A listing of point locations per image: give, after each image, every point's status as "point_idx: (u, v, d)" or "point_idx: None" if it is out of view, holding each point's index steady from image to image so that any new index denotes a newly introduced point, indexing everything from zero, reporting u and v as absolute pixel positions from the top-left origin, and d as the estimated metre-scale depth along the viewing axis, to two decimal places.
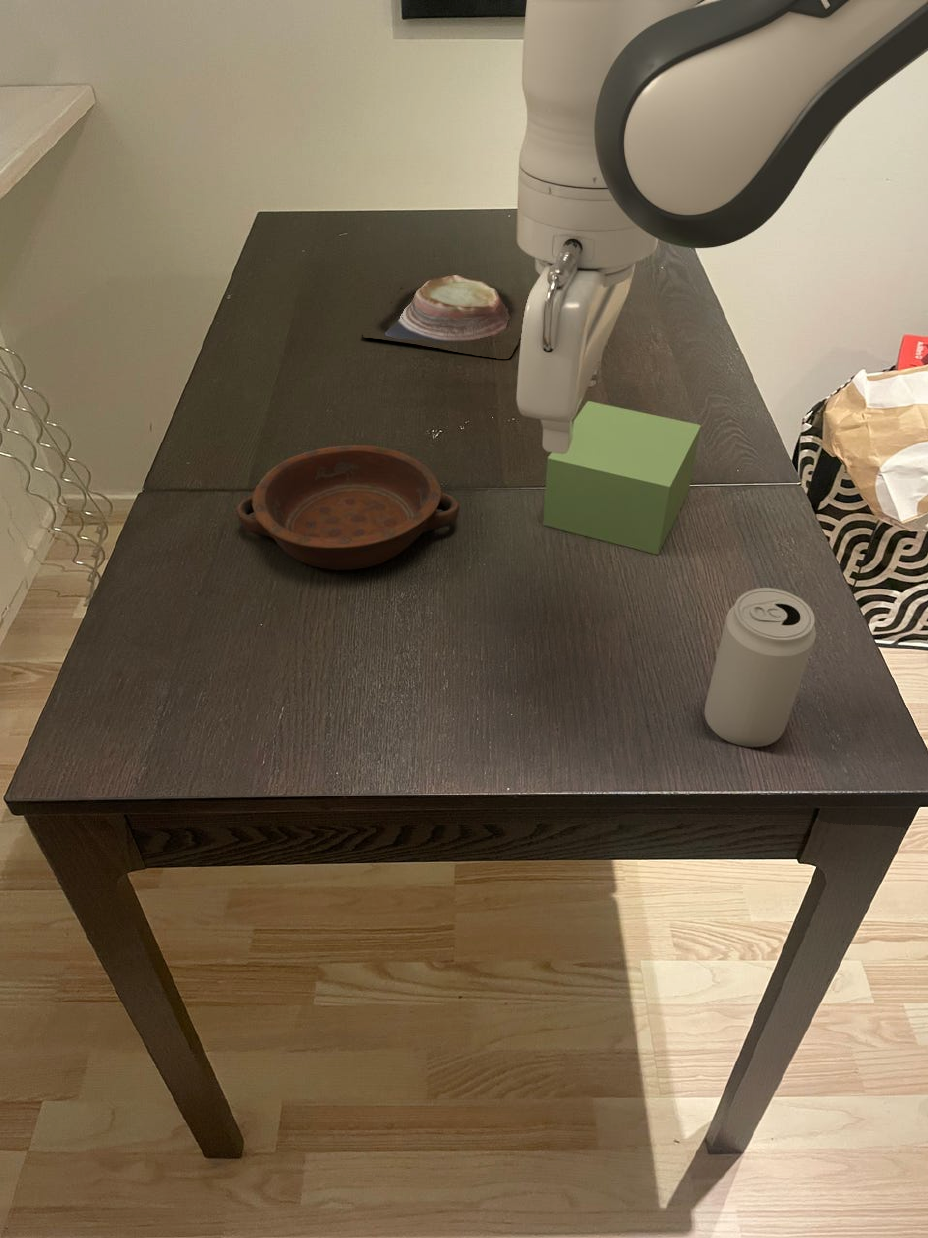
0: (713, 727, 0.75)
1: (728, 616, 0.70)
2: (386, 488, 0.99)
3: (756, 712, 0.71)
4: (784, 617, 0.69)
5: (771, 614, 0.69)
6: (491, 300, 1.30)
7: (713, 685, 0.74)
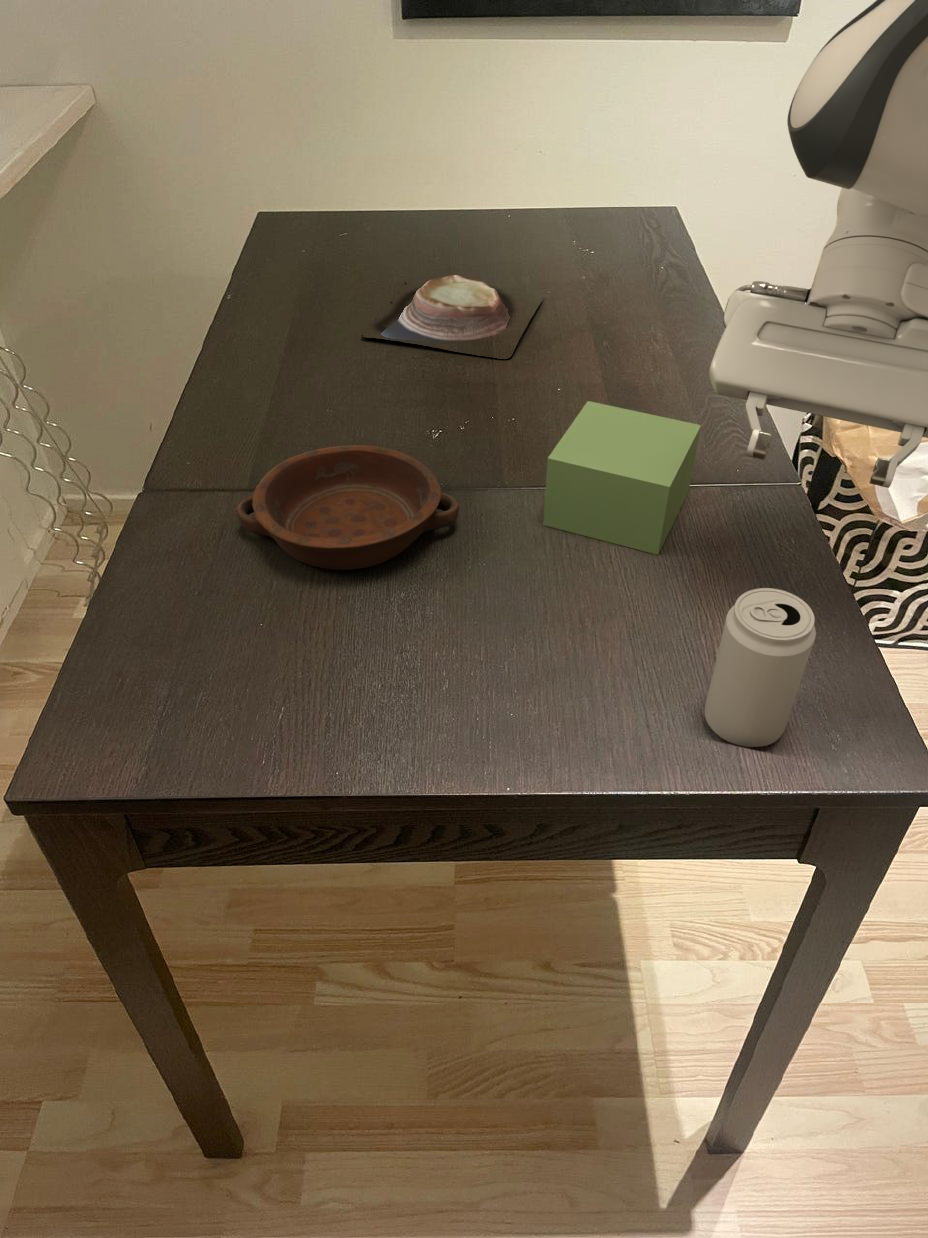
0: (713, 727, 0.75)
1: (728, 616, 0.70)
2: (386, 488, 0.99)
3: (756, 712, 0.71)
4: (784, 617, 0.69)
5: (771, 614, 0.69)
6: (491, 300, 1.30)
7: (713, 685, 0.74)
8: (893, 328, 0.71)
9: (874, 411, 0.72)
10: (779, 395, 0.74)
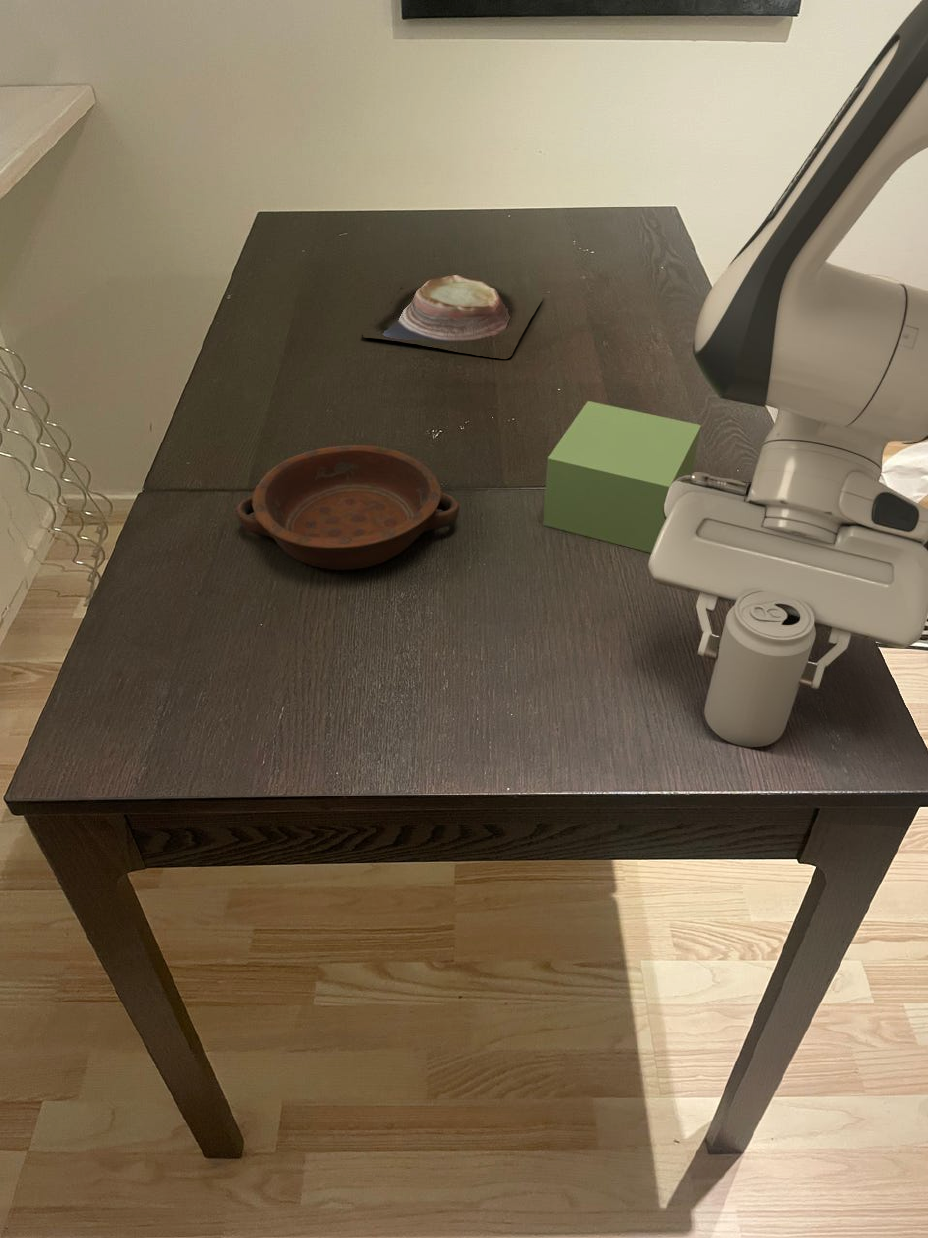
0: (713, 727, 0.75)
1: (728, 616, 0.70)
2: (386, 488, 0.99)
3: (756, 712, 0.71)
4: (784, 617, 0.69)
5: (771, 614, 0.69)
6: (491, 300, 1.30)
7: (712, 685, 0.74)
8: (833, 533, 0.70)
9: None
10: (718, 595, 0.72)
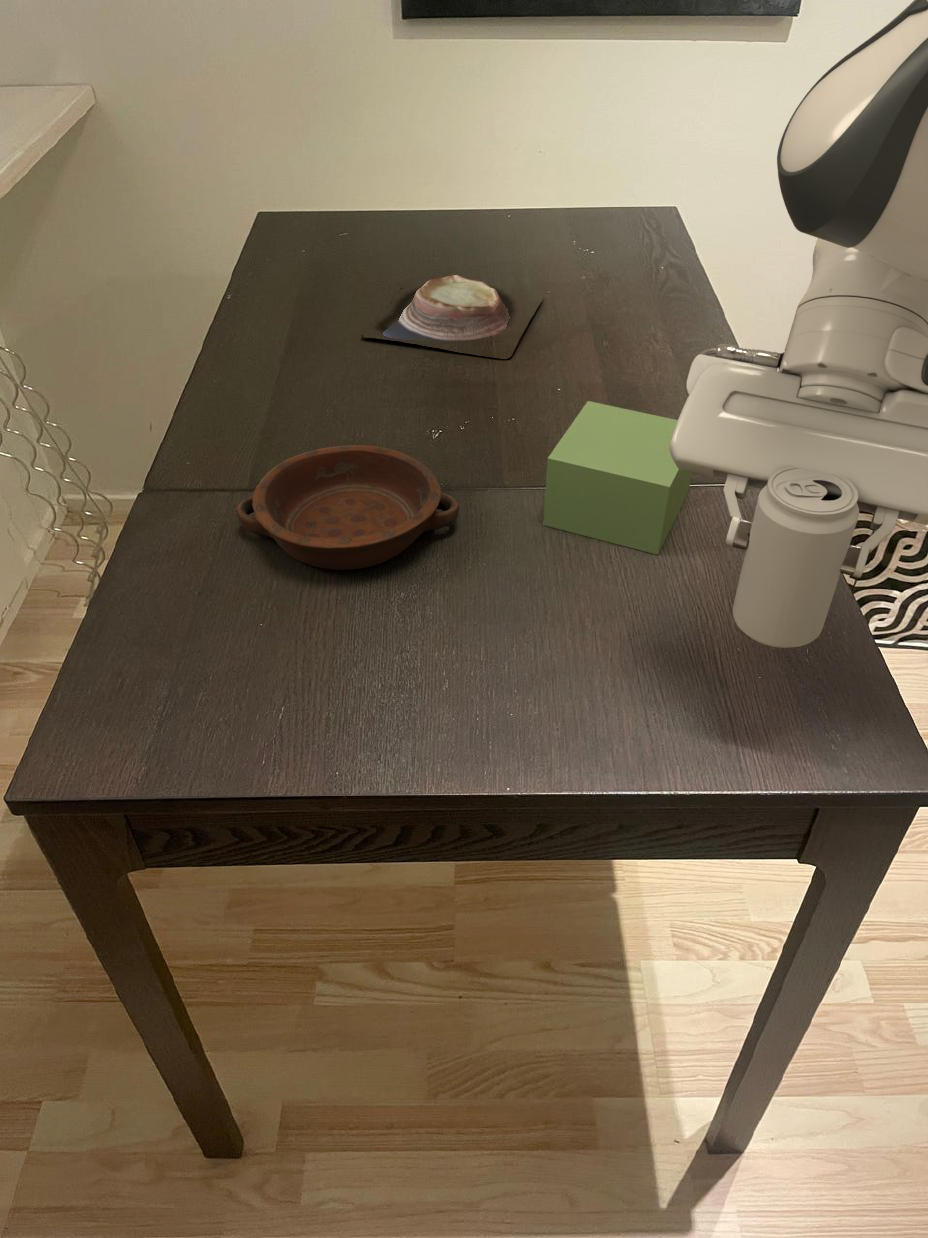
0: (743, 627, 0.68)
1: (760, 495, 0.63)
2: (386, 488, 0.99)
3: (792, 604, 0.64)
4: (824, 492, 0.61)
5: (809, 490, 0.61)
6: (491, 300, 1.30)
7: (742, 578, 0.66)
8: (877, 400, 0.62)
9: None
10: (748, 475, 0.65)
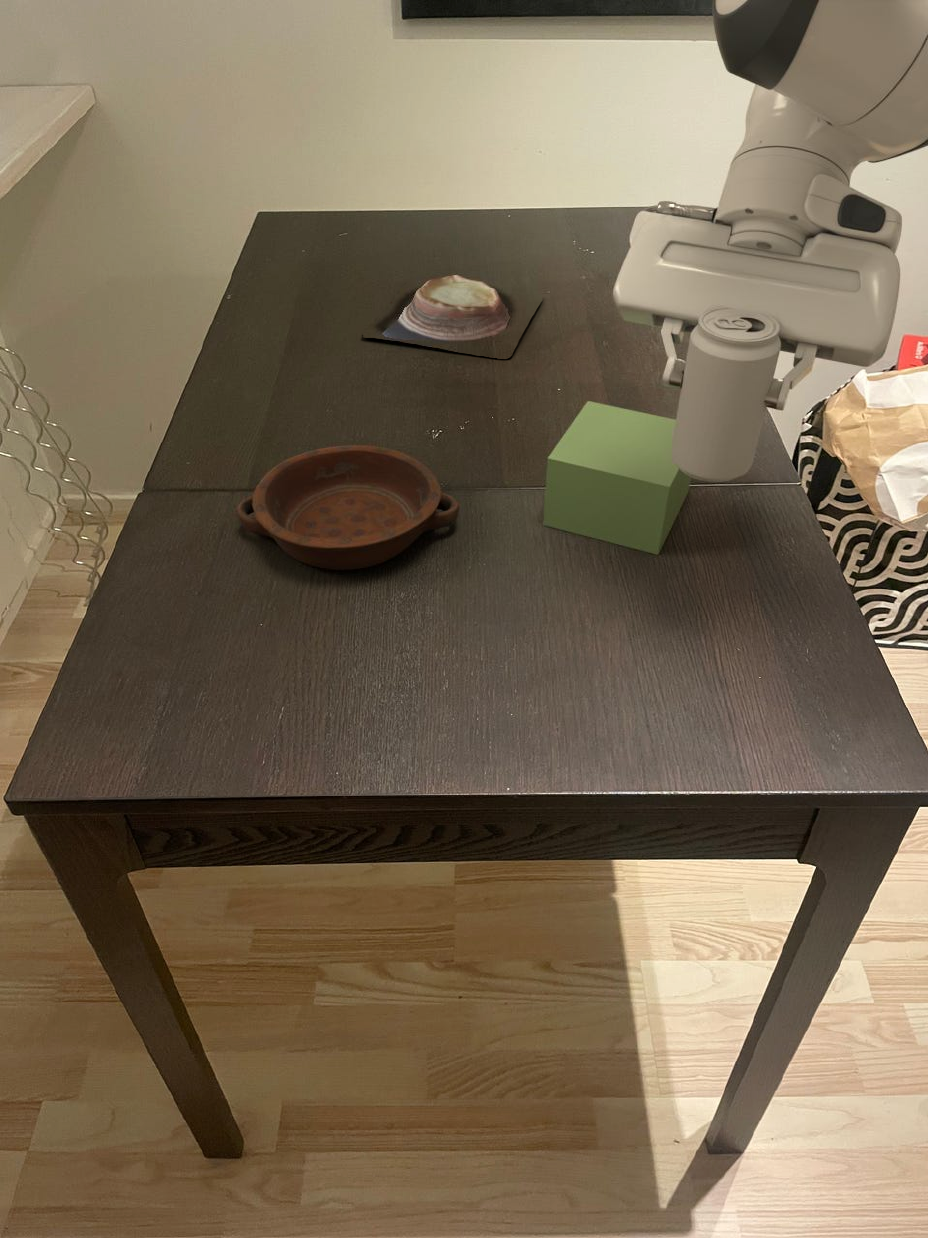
0: (679, 463, 0.74)
1: (692, 331, 0.69)
2: (386, 488, 0.99)
3: (721, 434, 0.70)
4: (749, 326, 0.67)
5: (736, 324, 0.67)
6: (491, 300, 1.30)
7: (678, 415, 0.72)
8: (799, 244, 0.68)
9: (779, 331, 0.68)
10: (683, 317, 0.71)
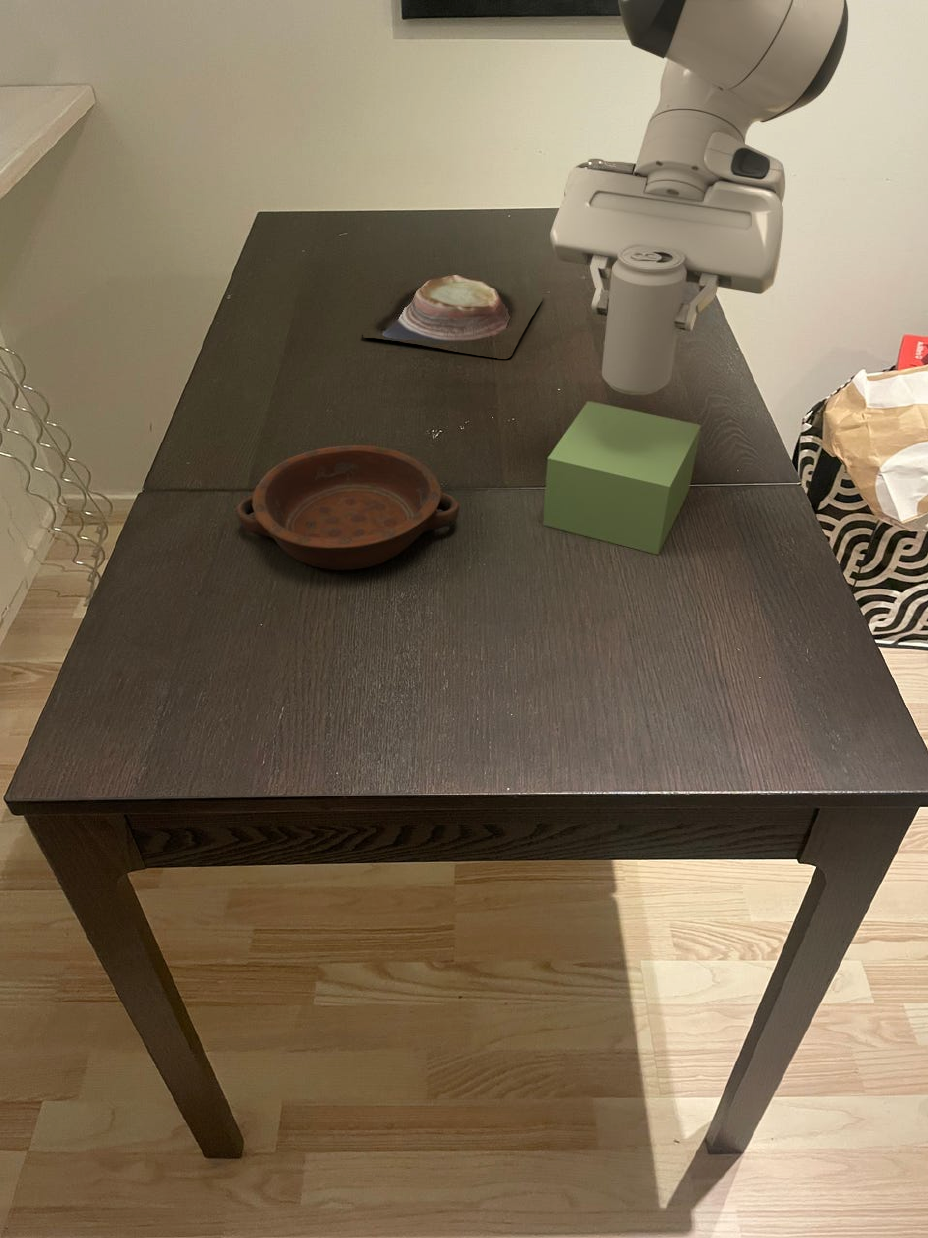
0: (607, 379, 0.87)
1: None
2: (386, 488, 0.99)
3: (639, 351, 0.84)
4: (659, 258, 0.81)
5: (648, 256, 0.81)
6: (491, 300, 1.30)
7: (605, 337, 0.86)
8: (701, 191, 0.82)
9: (686, 264, 0.82)
10: (607, 254, 0.84)
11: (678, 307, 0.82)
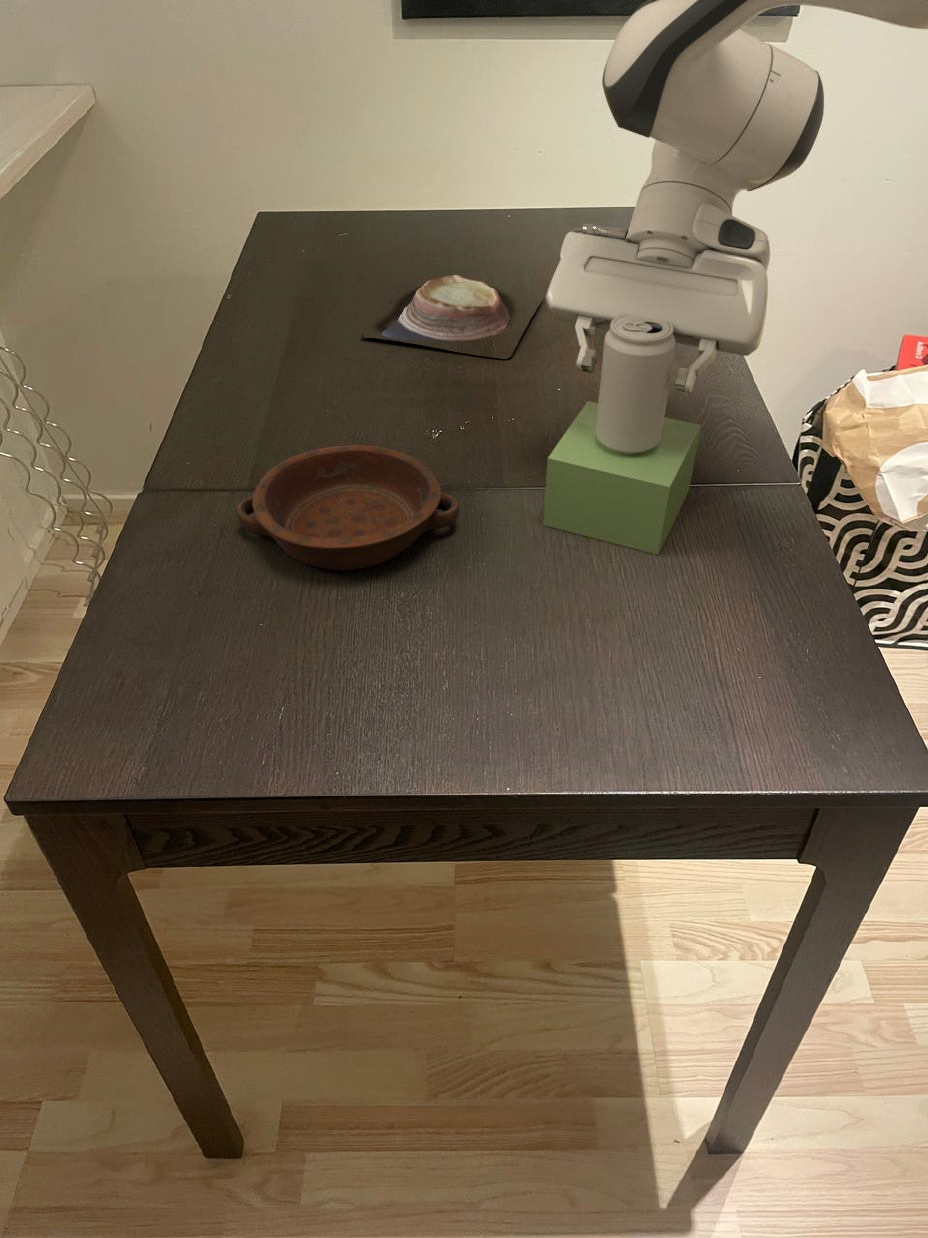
0: (601, 439, 0.92)
1: (606, 333, 0.87)
2: (386, 488, 0.99)
3: (631, 415, 0.88)
4: (649, 328, 0.85)
5: (639, 327, 0.85)
6: (491, 300, 1.30)
7: (599, 400, 0.90)
8: (690, 258, 0.86)
9: (675, 328, 0.86)
10: (601, 317, 0.88)
11: (668, 374, 0.87)
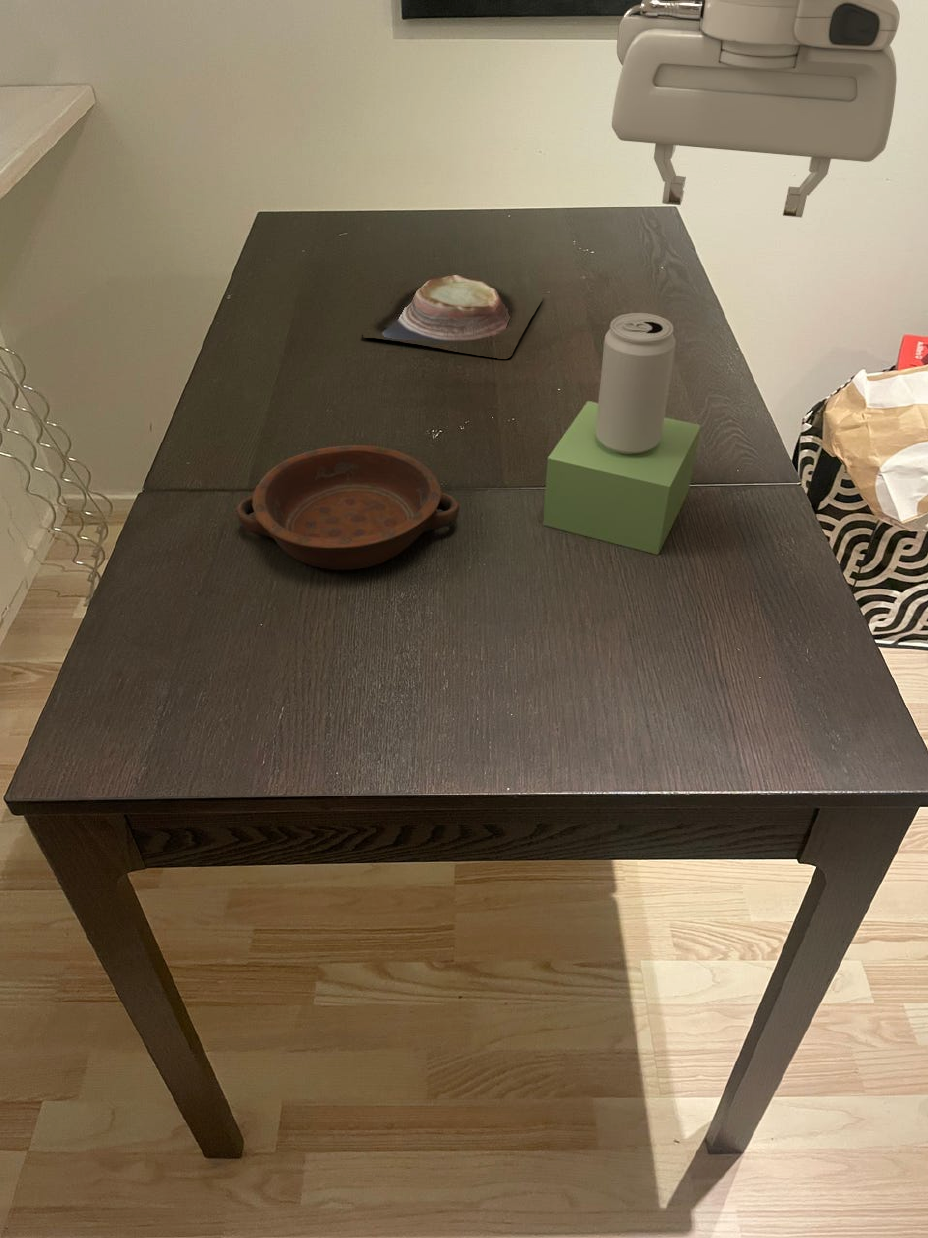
0: (601, 439, 0.92)
1: (606, 333, 0.87)
2: (386, 488, 0.99)
3: (631, 415, 0.88)
4: (649, 328, 0.85)
5: (639, 327, 0.85)
6: (491, 300, 1.30)
7: (599, 400, 0.90)
8: (792, 57, 0.67)
9: (779, 152, 0.71)
10: (684, 145, 0.73)
11: (668, 374, 0.87)
